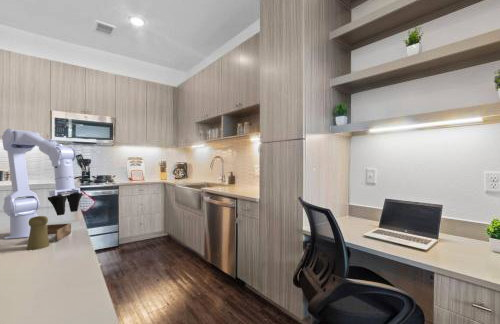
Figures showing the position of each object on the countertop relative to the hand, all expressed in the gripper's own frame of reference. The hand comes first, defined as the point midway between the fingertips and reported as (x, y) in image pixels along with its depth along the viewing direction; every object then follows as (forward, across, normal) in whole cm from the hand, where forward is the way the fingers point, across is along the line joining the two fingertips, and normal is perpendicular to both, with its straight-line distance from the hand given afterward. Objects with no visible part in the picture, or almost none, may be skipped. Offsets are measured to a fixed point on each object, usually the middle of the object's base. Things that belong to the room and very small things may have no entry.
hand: (67, 213), depth 89 cm
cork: (+11, -4, +8) cm, 14 cm away
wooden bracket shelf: (+10, +6, +10) cm, 15 cm away
